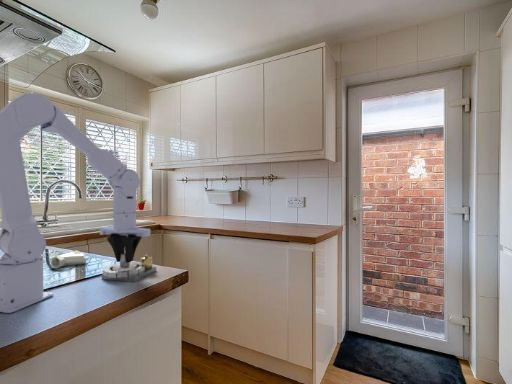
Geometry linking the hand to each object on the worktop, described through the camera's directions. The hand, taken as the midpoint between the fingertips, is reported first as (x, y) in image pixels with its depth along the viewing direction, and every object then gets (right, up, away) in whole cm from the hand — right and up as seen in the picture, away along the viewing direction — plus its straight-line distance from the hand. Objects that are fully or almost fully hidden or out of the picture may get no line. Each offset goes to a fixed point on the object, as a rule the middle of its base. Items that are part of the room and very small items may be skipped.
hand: (124, 261), depth 78 cm
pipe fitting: (-21, -4, +10) cm, 24 cm away
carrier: (+1, -4, +1) cm, 4 cm away
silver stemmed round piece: (0, -3, 0) cm, 3 cm away
